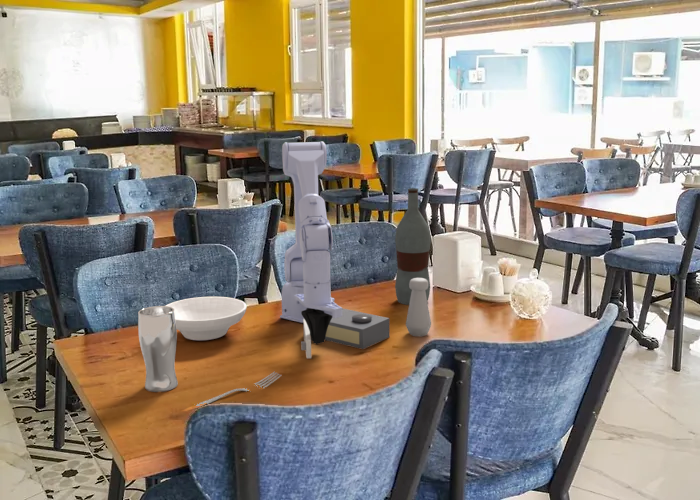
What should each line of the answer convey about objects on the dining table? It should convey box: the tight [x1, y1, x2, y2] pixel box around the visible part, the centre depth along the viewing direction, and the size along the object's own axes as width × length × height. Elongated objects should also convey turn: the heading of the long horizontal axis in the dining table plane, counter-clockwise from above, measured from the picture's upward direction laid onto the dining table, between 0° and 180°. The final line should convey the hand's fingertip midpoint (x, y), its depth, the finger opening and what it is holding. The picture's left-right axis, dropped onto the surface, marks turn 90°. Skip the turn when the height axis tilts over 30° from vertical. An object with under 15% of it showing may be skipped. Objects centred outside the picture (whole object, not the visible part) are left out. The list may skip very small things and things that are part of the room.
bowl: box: [165, 296, 247, 341], centre depth 170 cm, size 20×20×7 cm
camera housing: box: [310, 307, 390, 350], centre depth 168 cm, size 16×10×5 cm, turn 52°
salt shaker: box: [405, 278, 432, 337], centre depth 169 cm, size 6×6×13 cm
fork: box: [196, 371, 282, 406], centre depth 136 cm, size 3×24×2 cm, turn 132°
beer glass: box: [137, 305, 179, 393], centre depth 140 cm, size 7×7×15 cm
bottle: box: [394, 187, 431, 306], centre depth 194 cm, size 9×9×30 cm
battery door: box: [300, 319, 312, 359], centre depth 162 cm, size 16×2×4 cm, turn 6°
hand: (318, 342), depth 158 cm, fingers closed
